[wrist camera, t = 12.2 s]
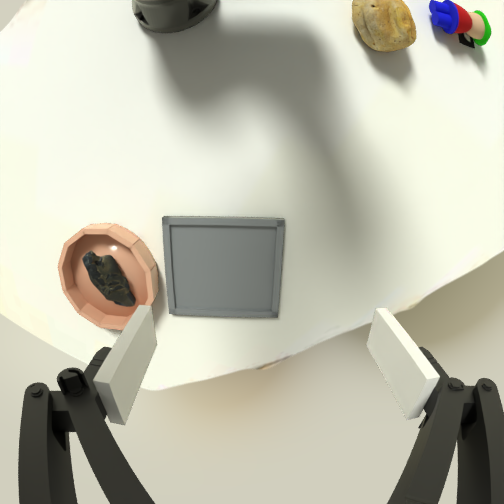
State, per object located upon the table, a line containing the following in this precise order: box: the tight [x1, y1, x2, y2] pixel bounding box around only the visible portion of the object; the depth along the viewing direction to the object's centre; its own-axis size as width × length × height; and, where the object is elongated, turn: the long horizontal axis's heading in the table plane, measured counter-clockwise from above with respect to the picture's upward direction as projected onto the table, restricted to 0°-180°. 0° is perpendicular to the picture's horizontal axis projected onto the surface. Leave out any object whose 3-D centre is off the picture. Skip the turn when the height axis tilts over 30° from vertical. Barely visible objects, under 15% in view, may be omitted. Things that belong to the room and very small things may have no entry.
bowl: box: [58, 223, 159, 330], centre depth 50 cm, size 20×20×4 cm
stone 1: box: [82, 251, 136, 307], centre depth 49 cm, size 7×13×5 cm, turn 32°
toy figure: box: [429, 0, 491, 49], centre depth 33 cm, size 9×10×15 cm
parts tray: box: [162, 216, 284, 317], centre depth 52 cm, size 18×20×1 cm
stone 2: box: [352, 0, 416, 52], centre depth 34 cm, size 13×10×10 cm
